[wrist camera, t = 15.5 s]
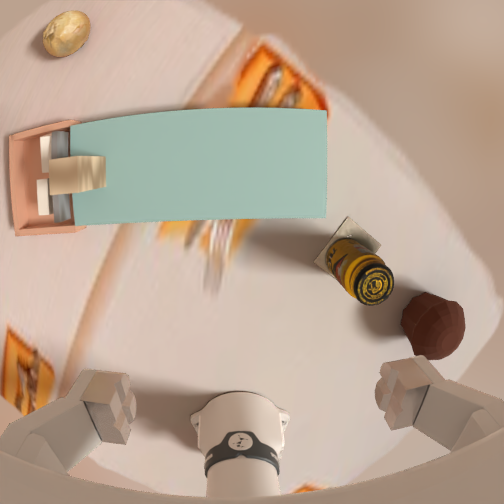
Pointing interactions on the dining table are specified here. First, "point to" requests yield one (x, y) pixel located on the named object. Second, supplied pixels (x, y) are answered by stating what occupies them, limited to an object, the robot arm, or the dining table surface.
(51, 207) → the tile
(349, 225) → the condiment
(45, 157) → the tile
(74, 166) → the scraper
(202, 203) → the board
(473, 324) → the dining table surface
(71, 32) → the tan oval lump
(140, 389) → the dining table surface
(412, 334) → the muffin
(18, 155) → the tray
